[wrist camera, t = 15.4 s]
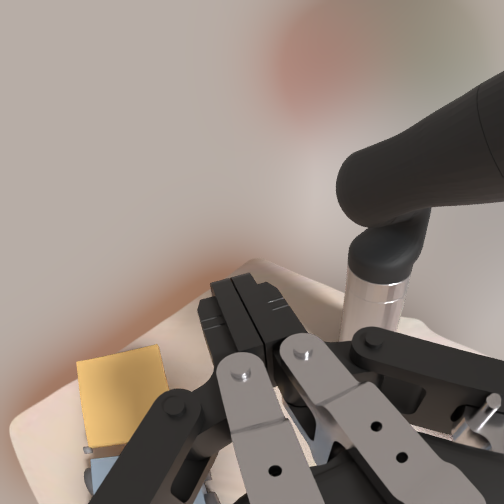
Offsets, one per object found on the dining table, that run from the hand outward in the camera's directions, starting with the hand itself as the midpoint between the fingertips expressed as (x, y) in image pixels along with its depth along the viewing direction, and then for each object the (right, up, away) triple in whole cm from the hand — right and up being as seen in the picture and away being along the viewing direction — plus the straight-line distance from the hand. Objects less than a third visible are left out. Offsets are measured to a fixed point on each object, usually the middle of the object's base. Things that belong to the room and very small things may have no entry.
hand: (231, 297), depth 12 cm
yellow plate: (-14, -23, +21) cm, 34 cm away
